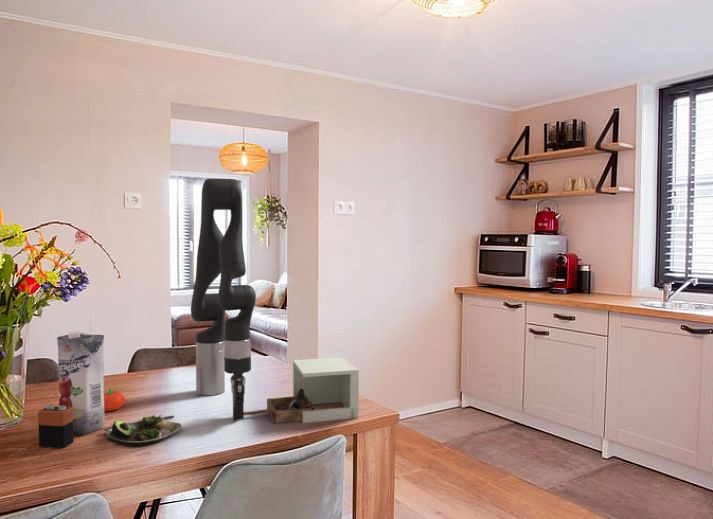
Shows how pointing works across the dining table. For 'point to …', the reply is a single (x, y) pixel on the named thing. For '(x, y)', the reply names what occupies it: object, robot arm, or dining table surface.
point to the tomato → (113, 400)
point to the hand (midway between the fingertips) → (238, 414)
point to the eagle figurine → (298, 401)
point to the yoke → (278, 415)
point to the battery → (55, 426)
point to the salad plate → (142, 431)
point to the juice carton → (82, 379)
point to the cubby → (327, 387)
